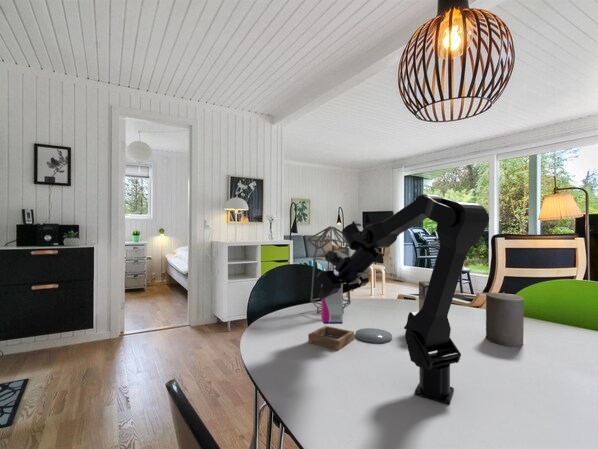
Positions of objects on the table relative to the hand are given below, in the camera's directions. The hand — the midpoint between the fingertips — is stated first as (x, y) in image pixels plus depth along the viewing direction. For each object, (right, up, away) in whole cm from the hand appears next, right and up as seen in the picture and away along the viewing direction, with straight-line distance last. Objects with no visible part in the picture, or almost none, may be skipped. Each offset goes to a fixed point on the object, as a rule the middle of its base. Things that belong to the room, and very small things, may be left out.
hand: (328, 296), depth 92 cm
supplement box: (+1, -7, -1) cm, 8 cm away
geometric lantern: (+4, -14, +30) cm, 34 cm away
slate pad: (+14, -13, +3) cm, 20 cm away
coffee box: (+34, -14, +8) cm, 38 cm away
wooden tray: (+1, -13, -1) cm, 13 cm away
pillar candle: (+54, -14, +1) cm, 56 cm away
